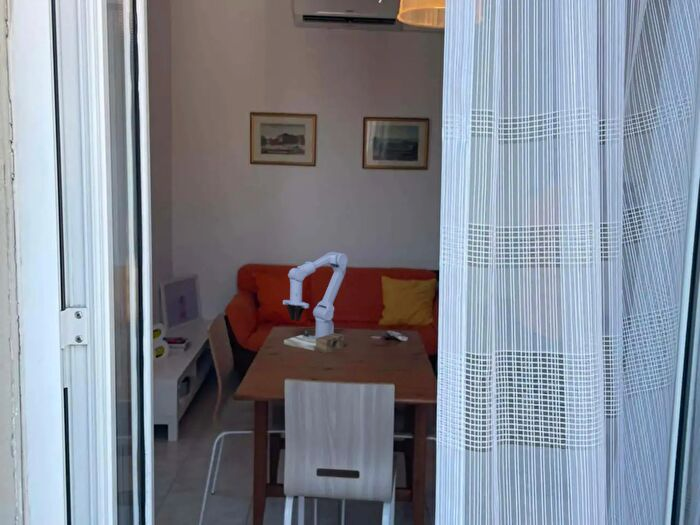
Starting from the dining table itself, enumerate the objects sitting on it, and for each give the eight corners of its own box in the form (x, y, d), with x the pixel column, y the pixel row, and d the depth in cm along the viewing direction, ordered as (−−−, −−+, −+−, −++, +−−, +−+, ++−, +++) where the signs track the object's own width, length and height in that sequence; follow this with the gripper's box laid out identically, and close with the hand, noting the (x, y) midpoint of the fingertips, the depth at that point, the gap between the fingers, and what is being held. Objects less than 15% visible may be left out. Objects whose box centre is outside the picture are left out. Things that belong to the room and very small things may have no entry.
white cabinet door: (302, 338, 301) (302, 326, 300) (343, 347, 287) (343, 335, 287) (283, 344, 289) (284, 331, 289) (326, 353, 276) (326, 340, 275)
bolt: (306, 338, 293) (306, 330, 292) (323, 342, 287) (323, 333, 286) (302, 339, 290) (302, 331, 290) (319, 343, 284) (319, 334, 284)
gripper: (279, 292, 293) (278, 319, 294) (302, 296, 285) (301, 324, 286) (288, 290, 298) (287, 317, 300) (311, 294, 290) (311, 321, 292)
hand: (295, 320), depth 293 cm, fingers open, 3 cm apart
